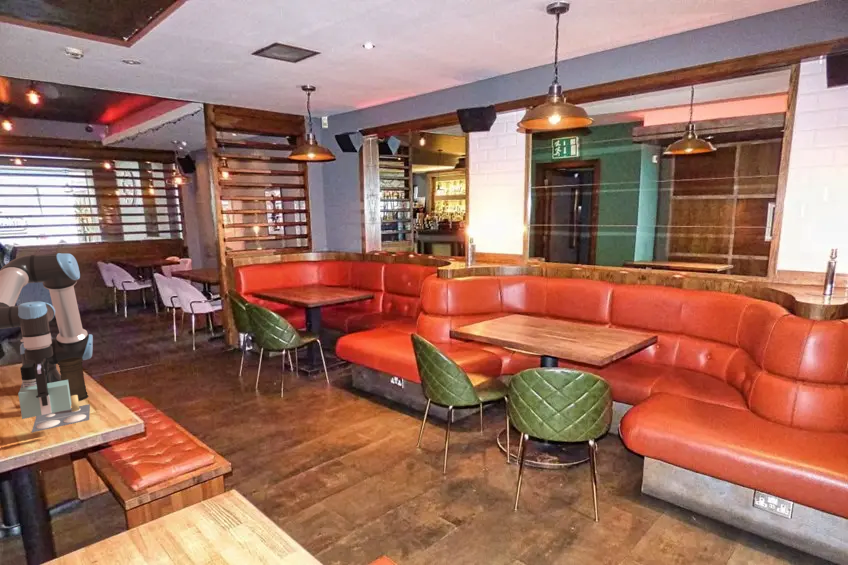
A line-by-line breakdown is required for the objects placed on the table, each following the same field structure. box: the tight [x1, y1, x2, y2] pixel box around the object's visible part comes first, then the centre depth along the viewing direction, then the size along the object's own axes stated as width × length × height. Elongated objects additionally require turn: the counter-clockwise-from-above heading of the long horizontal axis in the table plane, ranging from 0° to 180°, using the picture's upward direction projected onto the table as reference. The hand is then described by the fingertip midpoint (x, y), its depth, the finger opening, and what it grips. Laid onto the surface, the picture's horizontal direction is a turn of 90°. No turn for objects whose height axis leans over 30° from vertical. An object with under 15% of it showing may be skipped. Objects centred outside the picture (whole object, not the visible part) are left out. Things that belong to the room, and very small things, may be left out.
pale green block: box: [17, 380, 72, 420], centre depth 166 cm, size 7×13×9 cm, turn 124°
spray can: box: [19, 363, 37, 387], centre depth 187 cm, size 7×7×20 cm
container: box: [57, 357, 89, 402], centre depth 199 cm, size 9×9×18 cm
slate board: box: [31, 395, 91, 433], centre depth 181 cm, size 18×17×7 cm
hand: (47, 410), depth 166 cm, fingers closed on pale green block, 7 cm apart
